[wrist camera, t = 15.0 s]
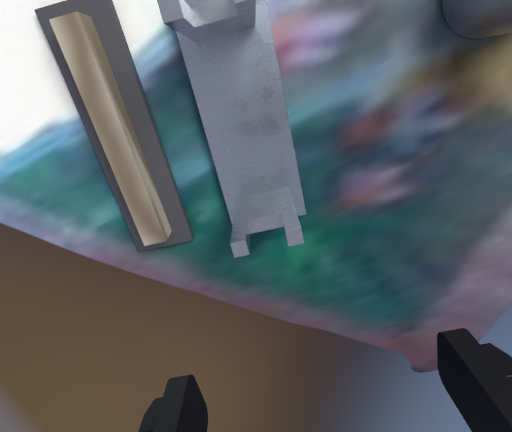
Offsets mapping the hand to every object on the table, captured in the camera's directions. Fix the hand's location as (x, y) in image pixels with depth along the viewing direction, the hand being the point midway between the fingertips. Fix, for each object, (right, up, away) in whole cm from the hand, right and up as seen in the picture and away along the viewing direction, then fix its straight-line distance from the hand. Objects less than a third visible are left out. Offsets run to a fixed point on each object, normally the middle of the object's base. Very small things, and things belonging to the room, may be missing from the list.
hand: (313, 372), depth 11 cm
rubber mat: (-18, +15, +30) cm, 38 cm away
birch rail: (-18, +14, +29) cm, 37 cm away
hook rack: (-3, +17, +29) cm, 33 cm away
